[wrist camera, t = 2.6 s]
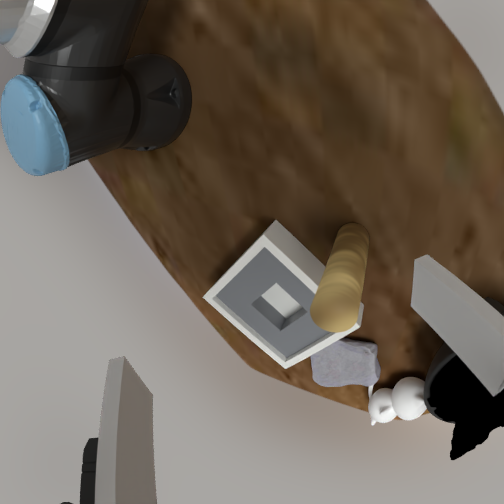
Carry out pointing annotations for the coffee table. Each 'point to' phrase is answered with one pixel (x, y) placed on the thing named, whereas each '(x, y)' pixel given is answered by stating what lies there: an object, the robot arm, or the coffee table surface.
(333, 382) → the stone block
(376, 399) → the cat figurine
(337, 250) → the peg
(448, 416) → the coal bowl
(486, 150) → the coffee table surface
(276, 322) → the hole box
